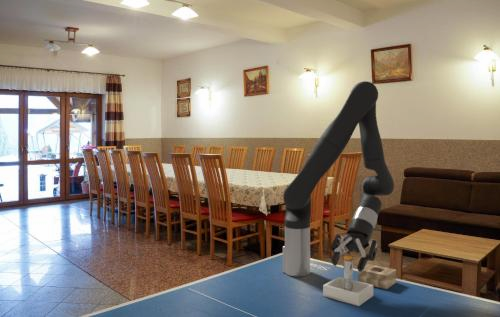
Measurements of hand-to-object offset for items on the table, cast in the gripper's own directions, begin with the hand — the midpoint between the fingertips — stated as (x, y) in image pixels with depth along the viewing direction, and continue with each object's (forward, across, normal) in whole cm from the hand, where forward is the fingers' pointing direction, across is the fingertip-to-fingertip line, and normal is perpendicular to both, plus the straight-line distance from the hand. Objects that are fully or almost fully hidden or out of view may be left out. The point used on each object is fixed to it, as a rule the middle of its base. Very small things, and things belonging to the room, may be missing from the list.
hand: (346, 267), depth 129 cm
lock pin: (+5, 0, +7) cm, 9 cm away
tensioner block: (-6, +2, +20) cm, 21 cm away
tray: (+6, 0, +8) cm, 10 cm away
